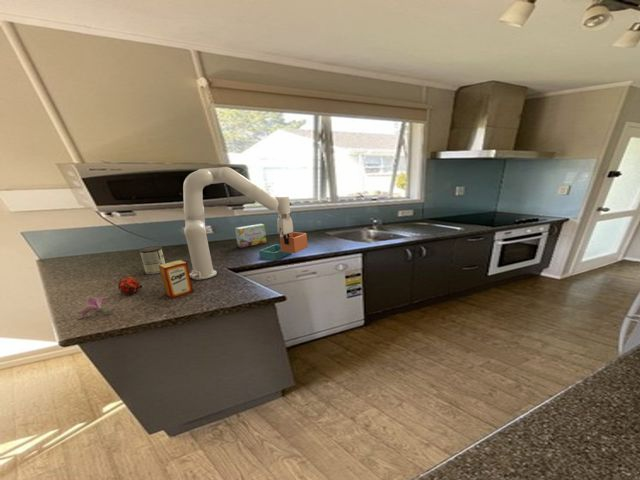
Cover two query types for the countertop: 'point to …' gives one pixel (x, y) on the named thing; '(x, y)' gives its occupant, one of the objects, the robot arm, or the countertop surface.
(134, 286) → the dragon fruit
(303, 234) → the upper bin
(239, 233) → the snack box
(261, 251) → the lower bin
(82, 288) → the countertop surface
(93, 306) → the lily
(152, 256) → the coffee can
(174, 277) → the baking soda box
